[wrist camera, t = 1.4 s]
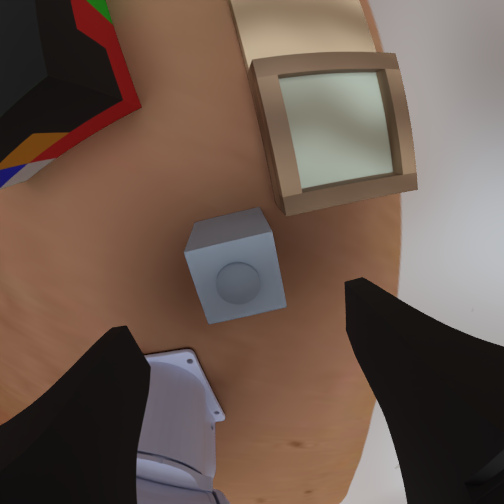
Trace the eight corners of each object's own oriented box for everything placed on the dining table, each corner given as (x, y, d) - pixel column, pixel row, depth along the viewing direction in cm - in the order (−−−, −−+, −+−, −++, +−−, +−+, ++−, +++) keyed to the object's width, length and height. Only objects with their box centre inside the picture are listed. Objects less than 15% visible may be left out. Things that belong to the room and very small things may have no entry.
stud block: (271, 265, 19) (288, 311, 14) (211, 279, 19) (208, 329, 14) (259, 206, 17) (273, 234, 12) (194, 222, 17) (182, 255, 12)
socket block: (390, 180, 17) (417, 189, 14) (275, 203, 17) (286, 216, 14) (345, -9, 12) (364, -29, 9) (226, -5, 12) (227, -30, 9)
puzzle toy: (26, 180, 15) (-78, 222, 5) (-1, 72, 11) (-92, 65, 2) (142, 107, 14) (47, 75, 5) (103, -6, 11) (34, -75, 1)
